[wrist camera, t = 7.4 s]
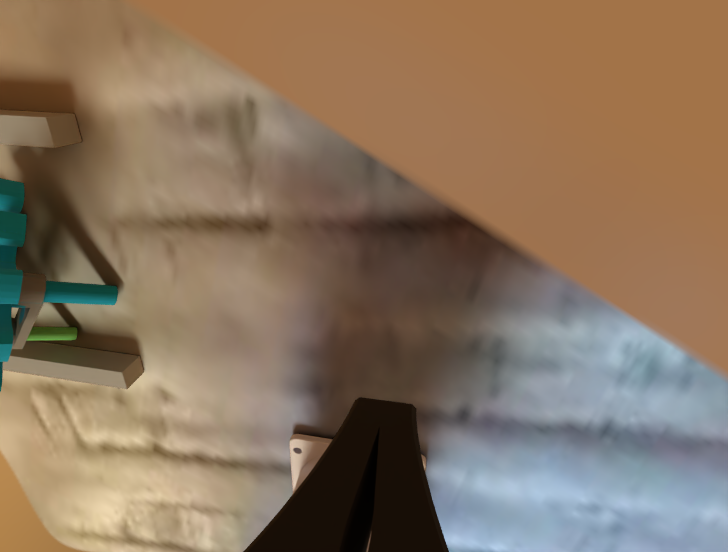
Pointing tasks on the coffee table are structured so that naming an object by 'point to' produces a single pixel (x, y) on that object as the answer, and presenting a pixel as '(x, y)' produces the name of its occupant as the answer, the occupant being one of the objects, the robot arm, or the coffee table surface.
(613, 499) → the coffee table surface
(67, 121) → the cradle
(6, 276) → the gear
